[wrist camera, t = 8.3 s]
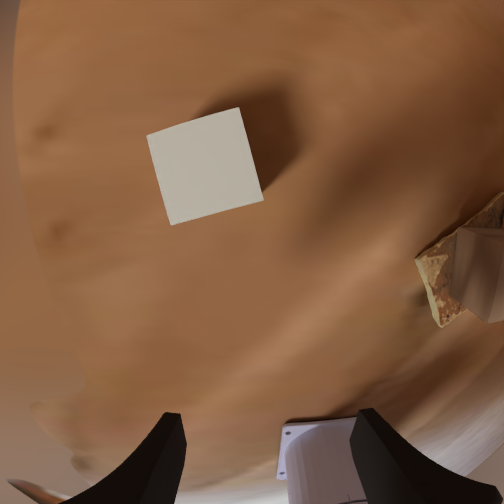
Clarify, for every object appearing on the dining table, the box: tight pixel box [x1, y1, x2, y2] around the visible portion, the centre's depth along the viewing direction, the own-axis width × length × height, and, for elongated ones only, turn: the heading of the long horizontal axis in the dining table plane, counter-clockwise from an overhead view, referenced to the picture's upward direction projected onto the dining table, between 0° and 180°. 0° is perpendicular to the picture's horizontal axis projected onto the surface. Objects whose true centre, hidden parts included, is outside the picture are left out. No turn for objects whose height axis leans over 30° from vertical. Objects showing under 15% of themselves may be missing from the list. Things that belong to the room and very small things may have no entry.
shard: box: [415, 191, 504, 327], centre depth 19 cm, size 11×8×2 cm
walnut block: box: [448, 227, 504, 324], centre depth 15 cm, size 5×5×5 cm
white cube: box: [147, 107, 264, 225], centre depth 15 cm, size 4×4×4 cm
